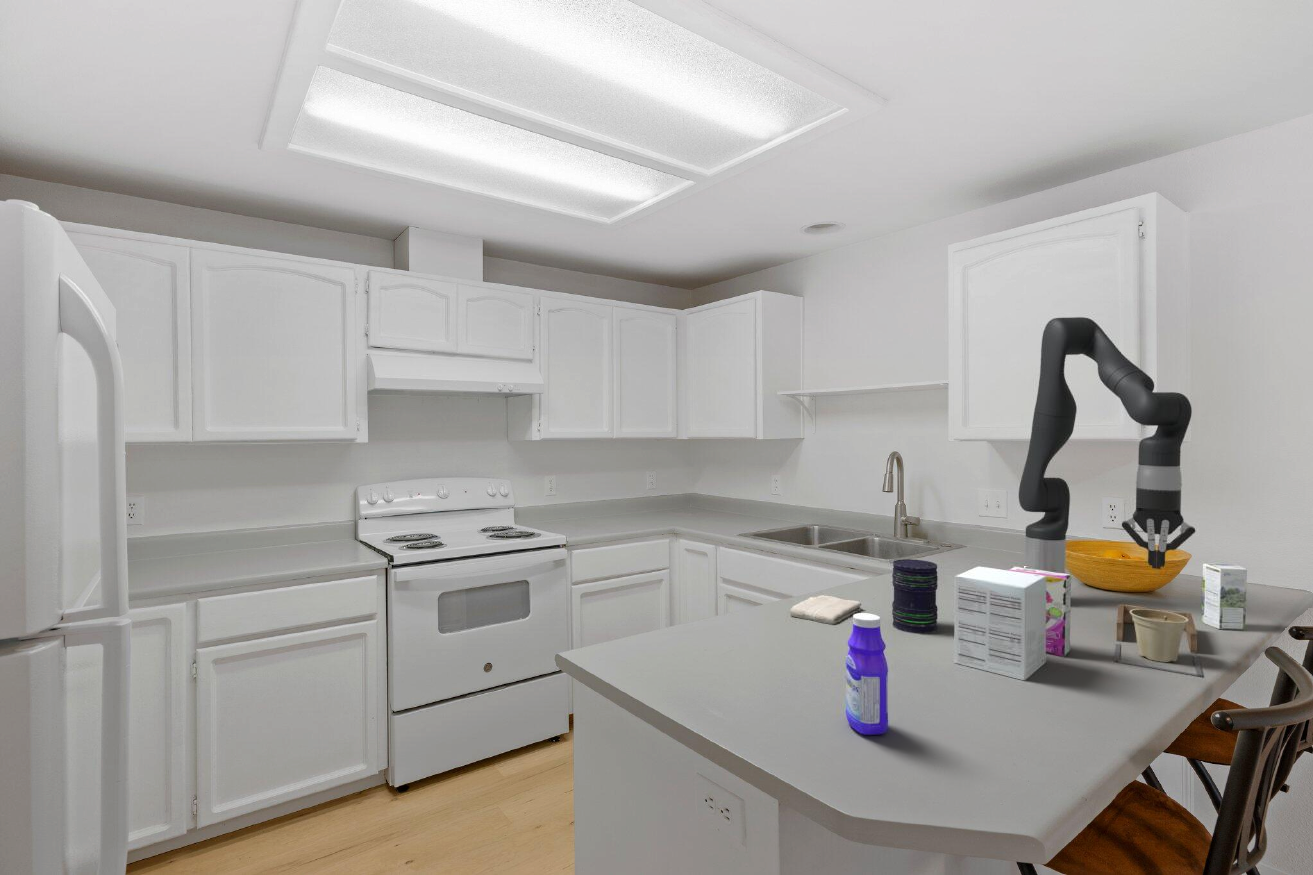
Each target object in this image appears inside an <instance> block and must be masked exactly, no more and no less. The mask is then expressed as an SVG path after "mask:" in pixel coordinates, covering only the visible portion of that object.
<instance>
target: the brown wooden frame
mask: <svg viewBox="0 0 1313 875" xmlns="http://www.w3.org/2000/svg"><path fill="white" fill-rule="evenodd" d="M1133 609H1152V610H1160V611H1166V612H1171V613H1174V614H1178V615H1181V616H1184V617H1186V618H1187V619H1188V622H1187V623H1186V625H1185V628H1184V629H1183V632H1185V634H1186V637H1187V638H1186V639H1187V643H1188V648H1189V652H1190V653H1192V654H1197V653H1198V633H1197V629H1196V626H1195V622H1194V619H1193V615H1192V613H1191V612H1182V611H1176V610H1168V609H1160V608H1153V607H1146V606H1145V607H1144V606H1137V605H1129V604H1123V603H1118V609H1117V615H1116V616H1117V617H1116V618H1117V619H1116V642H1121V643H1122V642H1123V636H1124V624H1125V623H1126V624H1134V621H1133V619H1132V615H1131V614H1130V610H1133ZM1134 625H1135V624H1134Z"/></svg>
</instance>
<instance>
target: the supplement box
mask: <svg viewBox="0 0 1313 875" xmlns="http://www.w3.org/2000/svg"><path fill="white" fill-rule="evenodd" d="M1007 570H1008V569H1006V570H1005V569H999V568H994V567H993V568H992V567H986V566H980V565H978V566H976V567H974V568H972V569H969V570H967V571H964V572H961V573H959V574H956V575H955V576H954V631H953V632H954V633H953V635H954V637H953V638H954V643H953V644H954V645H953V646H954V647H953V648H954V655H953V661H954V663H955V664H957V665H962V666H965V667H971V668H974V669H978V670H981V671H986V672H990V673H993V674H997V675H1001V676H1005V677H1008V678H1013V679H1015V680H1016V679H1017V680H1021V681H1026V680H1028V679H1029V678H1030V677H1031V676H1032V675H1033V674H1034V673H1035V672H1037V671H1038V670H1039V669H1040V668H1041V667H1042V666H1044V665H1045V663H1046V661H1047V660H1046V659H1047V658H1046V656H1047V655H1046V654H1047V653H1046V576H1042V575H1036V574H1029V573H1022V572H1015V571H1007Z"/></svg>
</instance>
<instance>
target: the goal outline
mask: <svg viewBox="0 0 1313 875" xmlns="http://www.w3.org/2000/svg"><path fill="white" fill-rule="evenodd" d="M1120 655H1121V644H1120V643H1115V650H1114V658H1113V662H1115V663H1119V664H1123V665H1124V664H1125V665H1131V666H1137V667H1142V668H1147V669H1154V670H1158V671H1165V672H1171V673H1176V674H1182V675H1188V676H1191V677H1192V676H1193V677H1200V678H1204V674H1203V671H1202V667H1201V664H1200V663H1201V662H1200V658H1199V656H1196V655H1193V656H1192V658H1193V662H1194V666H1195V671H1196V673H1191V672H1187V671H1181V670H1174V669H1170V668H1169V669H1168V668H1165V667H1163V668H1162V667H1159V666H1158V667H1157V666H1153V665H1152V666H1151V665H1147V664H1140V663H1136V662H1135V663H1134V662H1128V661H1124V660H1123V661H1122V660H1120V657H1121V656H1120Z"/></svg>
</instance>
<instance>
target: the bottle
mask: <svg viewBox="0 0 1313 875" xmlns="http://www.w3.org/2000/svg"><path fill="white" fill-rule="evenodd" d="M847 645H848V647H849V650H848V651H847V654H846V657H845V665H846V667H845V669H846V670H845V673H846V674H845V678H846V679H845V680H846V681H845V716H846V719H847V722H848V724H849V726H850V727H851V728H852V729H853V730H854V731H856V732H857V733H859V734H861V735H869V736H870V735H871V736H873V735H874V736H875V735H876V736H877V735H882V734H884V733H886V732H887V730H888V727H889V697H888V696H889V690H888V689H889V687H888V685H889V684H888V682H889V681H888V680H889V679H888V675H889V668H888V667H889V666H888V661H887V659H886V655H885V653H884V652H885V650H886V646H887V645H886V642H885V641H884V640H883V638H882V633H881V617H880V616H878V615H876V614H873V613H867V612H860V613H859V612H857V613H854V614H852V631H851V634H850V637H849V639H848V640H847Z"/></svg>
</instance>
